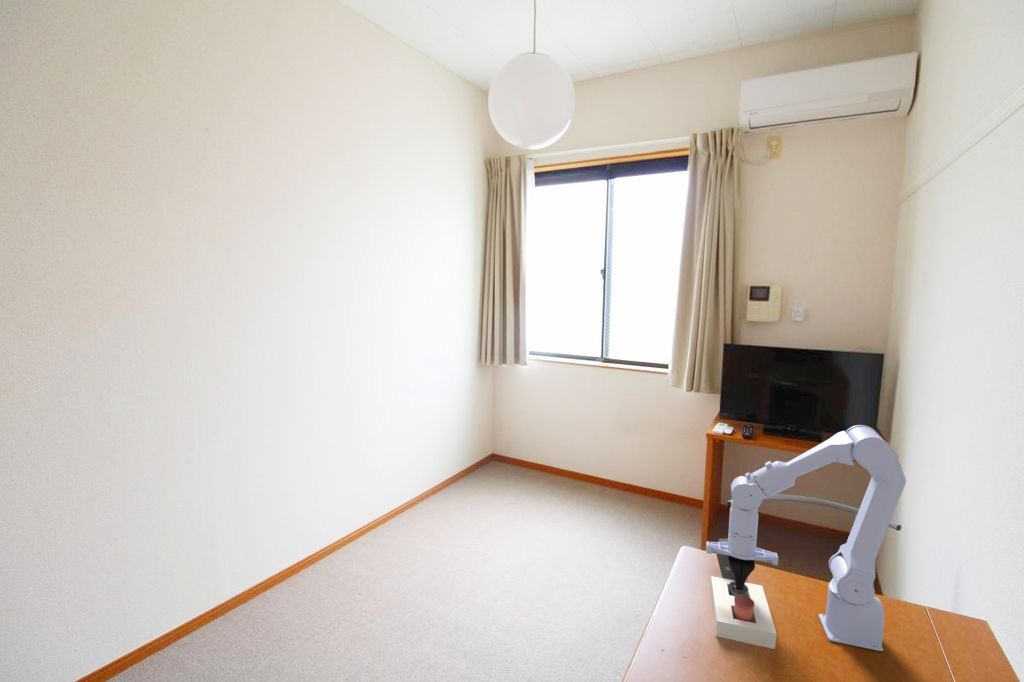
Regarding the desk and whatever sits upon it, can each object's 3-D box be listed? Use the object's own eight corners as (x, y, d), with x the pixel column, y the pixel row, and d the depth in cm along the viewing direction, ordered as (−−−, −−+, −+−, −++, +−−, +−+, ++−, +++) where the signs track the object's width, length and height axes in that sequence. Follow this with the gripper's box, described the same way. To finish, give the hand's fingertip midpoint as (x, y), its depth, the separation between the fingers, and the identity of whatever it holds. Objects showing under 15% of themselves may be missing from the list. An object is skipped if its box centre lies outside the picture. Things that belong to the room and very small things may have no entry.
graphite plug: (745, 599, 110) (746, 583, 110) (748, 609, 107) (749, 593, 106) (727, 595, 112) (728, 580, 111) (729, 606, 108) (730, 590, 108)
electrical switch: (740, 590, 115) (739, 553, 114) (717, 585, 117) (715, 549, 116) (742, 570, 123) (741, 535, 122) (720, 566, 125) (719, 532, 125)
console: (761, 599, 111) (762, 585, 111) (775, 649, 96) (776, 633, 96) (710, 589, 115) (711, 576, 114) (716, 636, 100) (717, 620, 99)
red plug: (751, 614, 103) (752, 597, 102) (754, 626, 99) (755, 608, 99) (732, 610, 104) (733, 593, 103) (734, 622, 100) (735, 604, 100)
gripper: (775, 527, 109) (770, 582, 110) (706, 517, 113) (703, 570, 115) (782, 543, 102) (777, 602, 104) (708, 531, 106) (705, 588, 108)
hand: (738, 586), depth 109 cm, fingers closed, pressing on graphite plug
